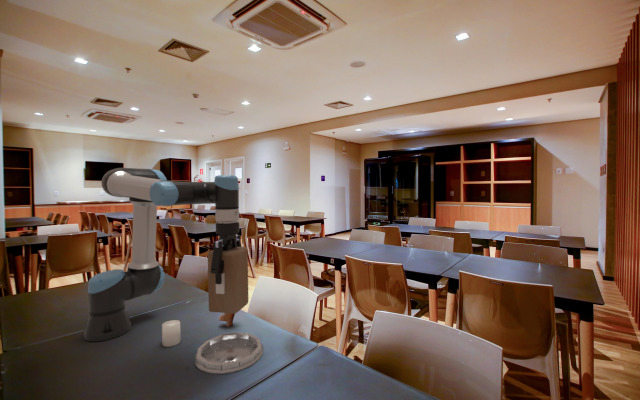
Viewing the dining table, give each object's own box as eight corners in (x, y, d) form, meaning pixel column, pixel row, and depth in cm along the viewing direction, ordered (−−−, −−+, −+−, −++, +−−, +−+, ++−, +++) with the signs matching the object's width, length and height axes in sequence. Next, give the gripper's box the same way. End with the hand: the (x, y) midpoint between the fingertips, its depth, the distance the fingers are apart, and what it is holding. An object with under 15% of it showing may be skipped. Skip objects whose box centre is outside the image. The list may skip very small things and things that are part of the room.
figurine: (221, 323, 126) (220, 287, 125) (239, 322, 126) (239, 287, 126) (217, 330, 120) (216, 292, 119) (236, 329, 120) (236, 292, 120)
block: (236, 315, 96) (234, 252, 95) (207, 312, 98) (206, 251, 97) (249, 303, 105) (248, 246, 105) (223, 301, 107) (222, 245, 107)
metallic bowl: (179, 369, 94) (179, 361, 94) (218, 335, 115) (218, 329, 115) (245, 378, 89) (245, 370, 89) (272, 341, 111) (272, 334, 111)
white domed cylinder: (158, 345, 108) (157, 326, 108) (170, 337, 114) (169, 319, 114) (173, 347, 107) (172, 328, 107) (184, 339, 113) (183, 320, 112)
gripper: (219, 226, 89) (221, 301, 89) (252, 218, 111) (253, 278, 112) (196, 225, 90) (198, 299, 91) (233, 218, 112) (235, 277, 113)
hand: (228, 288), depth 101 cm, fingers closed on block, 10 cm apart
